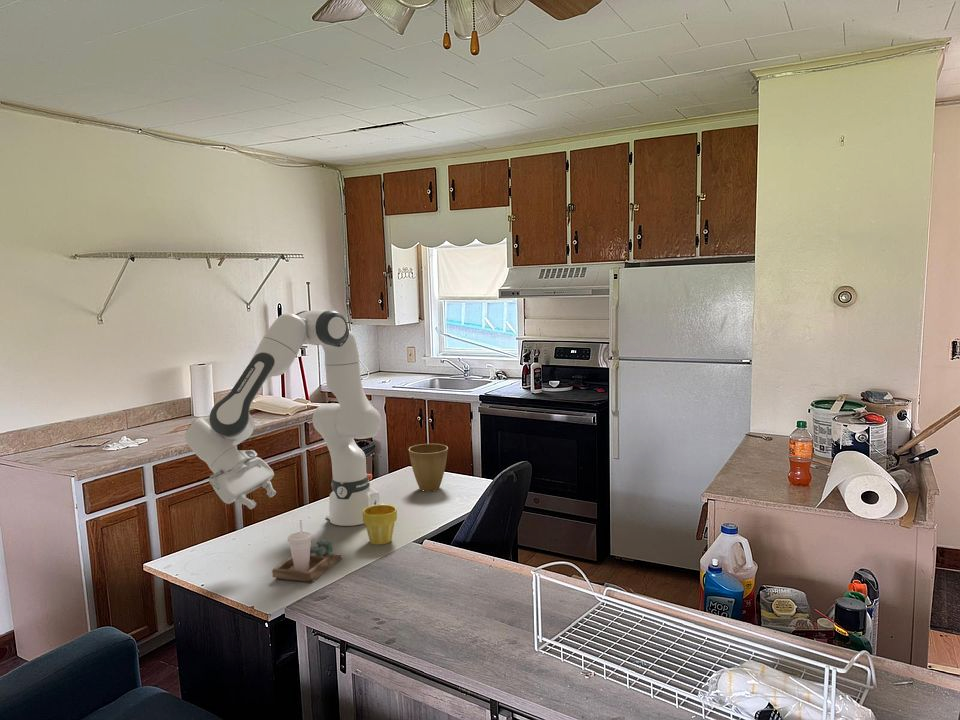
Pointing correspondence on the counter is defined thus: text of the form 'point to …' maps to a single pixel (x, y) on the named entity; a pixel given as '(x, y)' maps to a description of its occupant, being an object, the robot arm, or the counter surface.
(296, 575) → the brown wooden tray
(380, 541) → the plant pot
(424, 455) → the plant pot
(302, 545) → the smoothie
